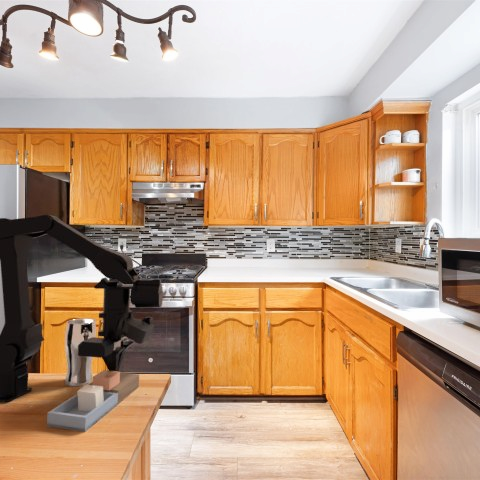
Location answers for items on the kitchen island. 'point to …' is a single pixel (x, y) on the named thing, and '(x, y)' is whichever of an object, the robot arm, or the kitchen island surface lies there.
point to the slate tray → (80, 413)
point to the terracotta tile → (107, 379)
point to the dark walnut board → (125, 385)
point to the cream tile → (90, 397)
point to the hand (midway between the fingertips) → (114, 375)
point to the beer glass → (76, 364)
